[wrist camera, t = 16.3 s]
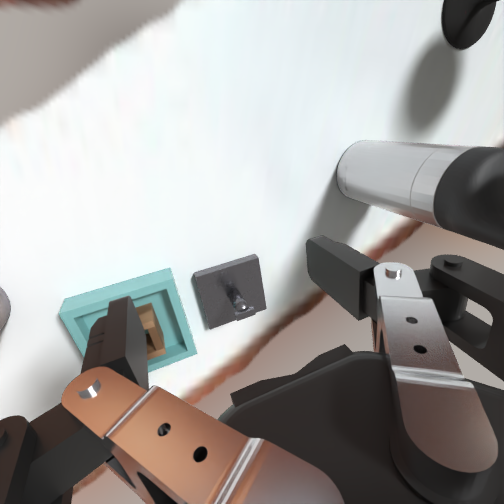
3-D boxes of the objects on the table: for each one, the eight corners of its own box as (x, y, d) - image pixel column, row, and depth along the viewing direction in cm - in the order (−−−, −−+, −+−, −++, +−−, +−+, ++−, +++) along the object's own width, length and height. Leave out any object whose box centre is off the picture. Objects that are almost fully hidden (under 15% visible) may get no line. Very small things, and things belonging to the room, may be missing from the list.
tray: (170, 267, 41) (172, 278, 38) (193, 339, 48) (197, 353, 45) (64, 298, 38) (58, 313, 35) (104, 372, 44) (102, 390, 41)
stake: (254, 253, 45) (273, 274, 39) (263, 304, 50) (281, 329, 44) (193, 272, 43) (203, 297, 37) (208, 323, 47) (219, 353, 41)
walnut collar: (151, 302, 41) (152, 320, 37) (163, 333, 44) (165, 353, 40) (107, 316, 40) (104, 337, 36) (122, 348, 42) (121, 370, 39)
